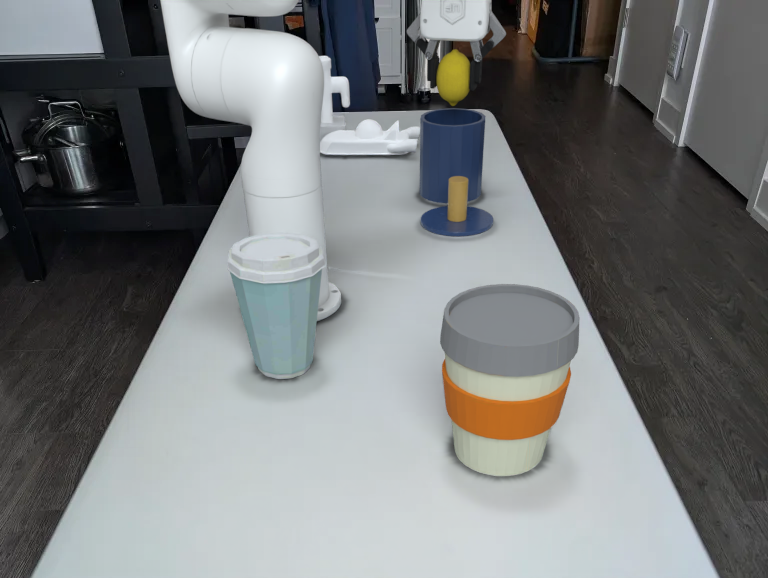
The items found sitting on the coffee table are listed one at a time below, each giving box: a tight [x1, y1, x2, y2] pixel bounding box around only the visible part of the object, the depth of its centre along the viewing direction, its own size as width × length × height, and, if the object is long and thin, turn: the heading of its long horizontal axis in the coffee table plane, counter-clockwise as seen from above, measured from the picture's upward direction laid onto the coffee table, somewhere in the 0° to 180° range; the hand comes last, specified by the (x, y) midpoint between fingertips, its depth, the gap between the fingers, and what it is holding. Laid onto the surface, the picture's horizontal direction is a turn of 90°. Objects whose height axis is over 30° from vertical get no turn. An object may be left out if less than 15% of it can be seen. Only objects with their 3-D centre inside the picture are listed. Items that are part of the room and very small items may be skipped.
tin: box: [419, 107, 486, 205], centre depth 132 cm, size 10×10×12 cm
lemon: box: [436, 48, 471, 107], centre depth 124 cm, size 6×6×8 cm
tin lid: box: [420, 176, 494, 237], centre depth 124 cm, size 11×11×7 cm
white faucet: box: [318, 55, 351, 142], centre depth 156 cm, size 7×9×15 cm
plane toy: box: [320, 118, 420, 156], centre depth 154 cm, size 10×20×6 cm, turn 84°
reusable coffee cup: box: [439, 283, 580, 477], centre depth 76 cm, size 13×12×15 cm
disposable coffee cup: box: [226, 232, 325, 380], centre depth 89 cm, size 11×11×15 cm
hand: (453, 86), depth 125 cm, fingers closed on lemon, 5 cm apart
